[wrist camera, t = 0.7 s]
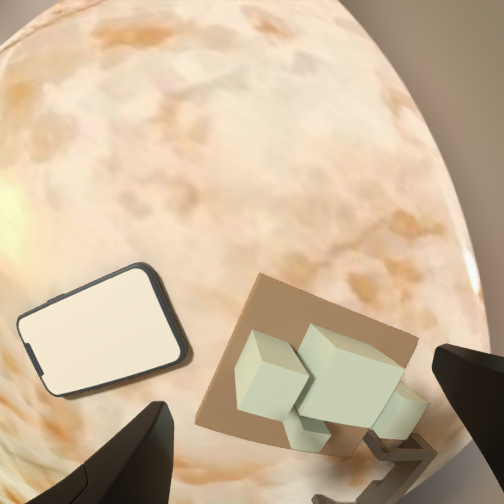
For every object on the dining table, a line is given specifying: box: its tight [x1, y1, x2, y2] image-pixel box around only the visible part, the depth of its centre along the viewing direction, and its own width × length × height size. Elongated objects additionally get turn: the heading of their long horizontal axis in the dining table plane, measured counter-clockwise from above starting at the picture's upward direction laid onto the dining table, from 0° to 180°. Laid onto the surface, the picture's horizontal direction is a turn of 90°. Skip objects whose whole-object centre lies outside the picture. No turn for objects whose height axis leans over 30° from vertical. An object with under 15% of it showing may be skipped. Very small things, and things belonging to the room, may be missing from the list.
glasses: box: [311, 430, 438, 504], centre depth 22 cm, size 9×12×4 cm
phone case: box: [16, 262, 187, 397], centre depth 21 cm, size 9×2×16 cm
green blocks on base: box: [195, 273, 429, 457], centre depth 19 cm, size 14×16×8 cm
